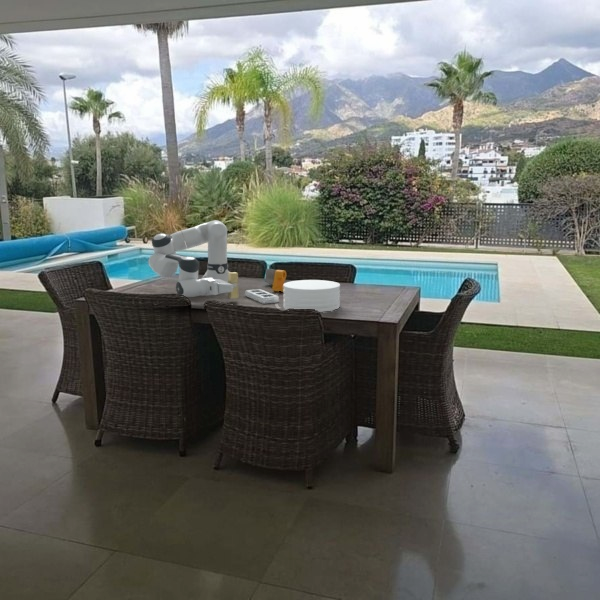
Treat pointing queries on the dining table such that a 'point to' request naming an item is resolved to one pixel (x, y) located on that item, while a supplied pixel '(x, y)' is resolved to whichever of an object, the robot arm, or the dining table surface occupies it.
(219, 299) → the dining table surface
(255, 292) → the white power strip
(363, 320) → the dining table surface
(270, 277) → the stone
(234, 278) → the peg
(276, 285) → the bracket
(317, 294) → the plate stack
